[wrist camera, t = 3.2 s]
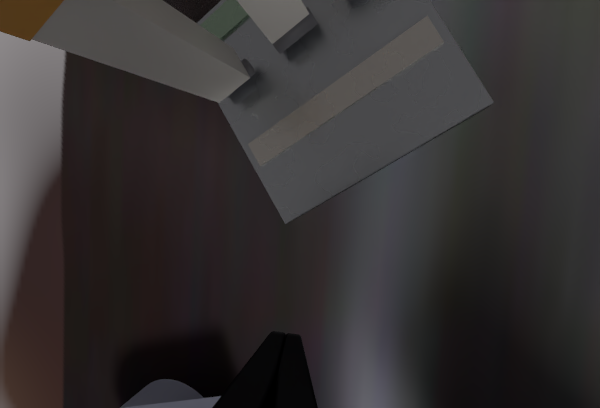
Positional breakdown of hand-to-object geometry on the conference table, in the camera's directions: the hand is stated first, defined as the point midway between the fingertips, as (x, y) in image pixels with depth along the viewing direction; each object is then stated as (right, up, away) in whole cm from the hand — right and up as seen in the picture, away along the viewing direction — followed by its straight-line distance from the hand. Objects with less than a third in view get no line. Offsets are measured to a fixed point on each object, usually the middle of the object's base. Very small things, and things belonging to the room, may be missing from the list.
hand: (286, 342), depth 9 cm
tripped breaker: (-4, +11, +10) cm, 16 cm away
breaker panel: (+2, +12, +11) cm, 16 cm away
